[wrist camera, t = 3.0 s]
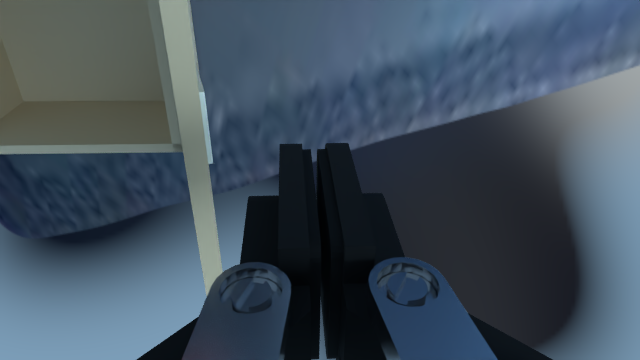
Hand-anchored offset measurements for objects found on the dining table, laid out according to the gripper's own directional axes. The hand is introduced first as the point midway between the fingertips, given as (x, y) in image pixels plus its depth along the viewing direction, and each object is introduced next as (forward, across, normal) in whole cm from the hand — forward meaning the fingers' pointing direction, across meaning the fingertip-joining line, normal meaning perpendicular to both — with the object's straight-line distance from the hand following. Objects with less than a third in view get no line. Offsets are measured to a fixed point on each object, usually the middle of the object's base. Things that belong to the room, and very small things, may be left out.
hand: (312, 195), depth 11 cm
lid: (+10, +6, 0) cm, 11 cm away
